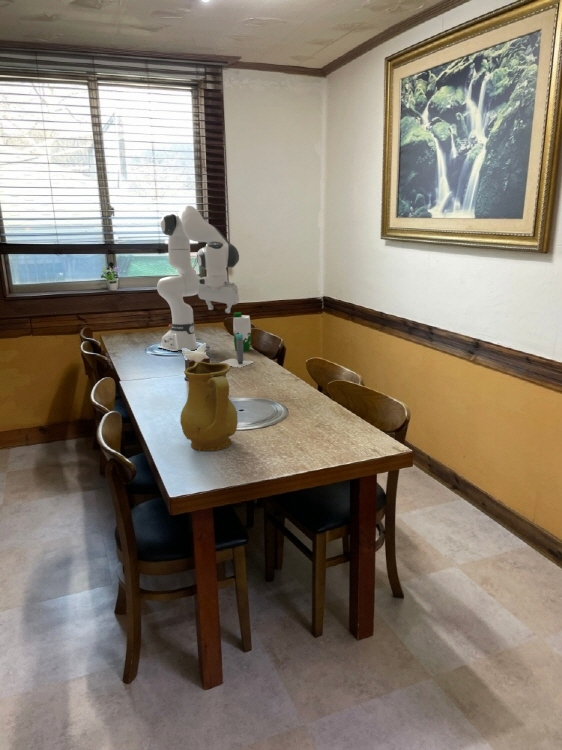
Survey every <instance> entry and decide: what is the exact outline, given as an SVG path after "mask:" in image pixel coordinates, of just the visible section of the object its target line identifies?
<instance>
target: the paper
mask: <svg viewBox="0 0 562 750" xmlns="http://www.w3.org/2000/svg"><path fill="white" fill-rule="evenodd" d="M219 363H226V364H229V365H230V366H232V367H231V368H237V367H238V369H241V367H242V368H243V366H244V367H247V366H249V365H251V363H252V364H254V363H255V361H252V360H245V359H244V361H243V364H238V361H237V359H236V358H228V359H225V360H222V361H221V362H219ZM246 365H247V366H246Z"/></svg>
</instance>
